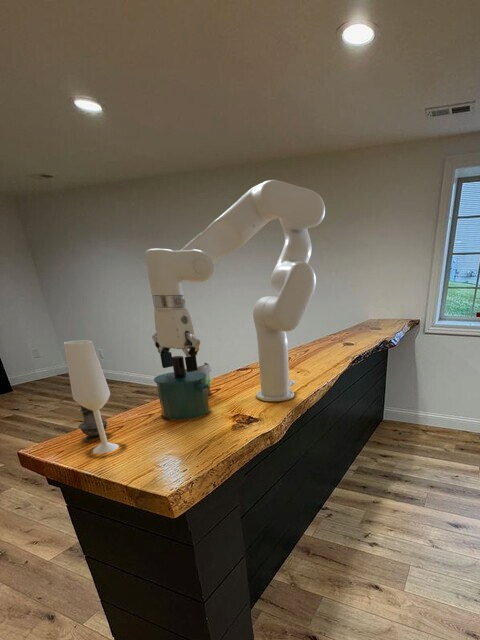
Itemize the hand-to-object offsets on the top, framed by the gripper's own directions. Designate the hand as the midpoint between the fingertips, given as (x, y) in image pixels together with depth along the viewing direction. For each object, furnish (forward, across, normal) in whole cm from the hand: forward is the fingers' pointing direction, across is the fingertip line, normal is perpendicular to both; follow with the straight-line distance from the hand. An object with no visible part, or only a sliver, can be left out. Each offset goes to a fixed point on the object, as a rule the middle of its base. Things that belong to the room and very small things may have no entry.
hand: (179, 369), depth 96 cm
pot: (+13, 0, 0) cm, 13 cm away
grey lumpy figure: (+13, +5, +23) cm, 27 cm away
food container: (+13, +10, -15) cm, 22 cm away
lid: (+3, 0, 0) cm, 3 cm away
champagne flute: (+13, -4, +26) cm, 30 cm away
